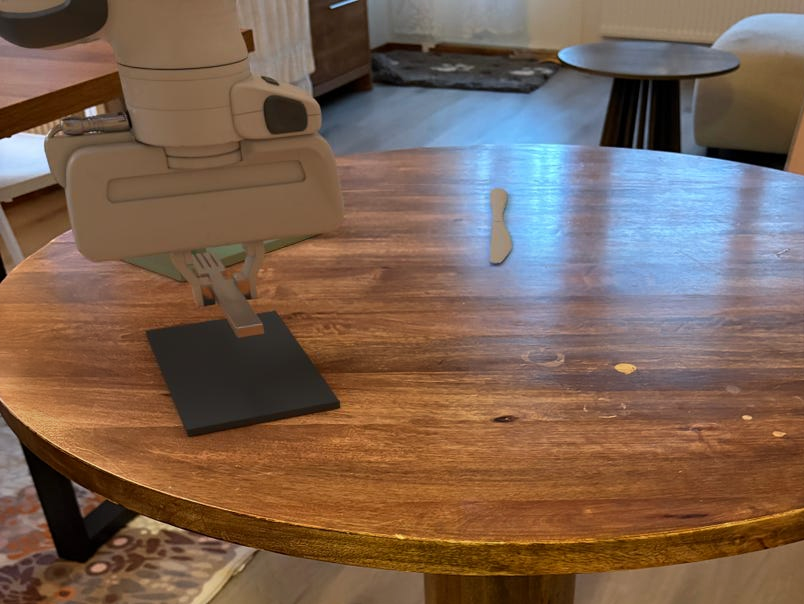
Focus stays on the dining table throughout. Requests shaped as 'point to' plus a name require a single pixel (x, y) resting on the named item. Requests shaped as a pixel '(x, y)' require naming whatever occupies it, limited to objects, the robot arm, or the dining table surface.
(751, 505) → the dining table surface
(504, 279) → the dining table surface
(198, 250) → the dish rack
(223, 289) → the fork
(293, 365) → the mat
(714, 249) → the dining table surface
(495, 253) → the butter knife
